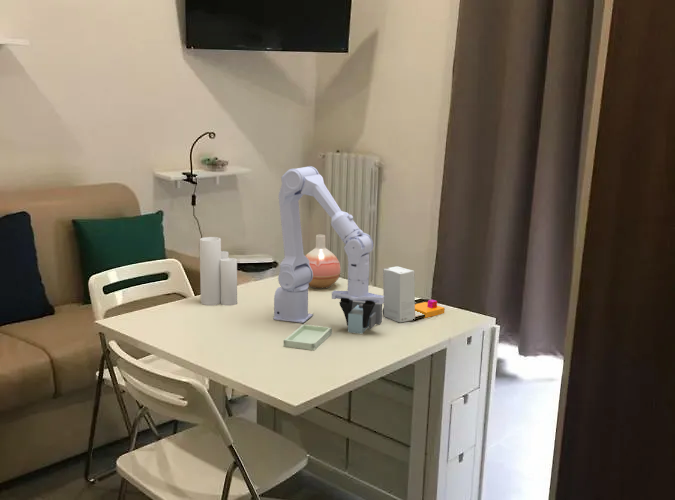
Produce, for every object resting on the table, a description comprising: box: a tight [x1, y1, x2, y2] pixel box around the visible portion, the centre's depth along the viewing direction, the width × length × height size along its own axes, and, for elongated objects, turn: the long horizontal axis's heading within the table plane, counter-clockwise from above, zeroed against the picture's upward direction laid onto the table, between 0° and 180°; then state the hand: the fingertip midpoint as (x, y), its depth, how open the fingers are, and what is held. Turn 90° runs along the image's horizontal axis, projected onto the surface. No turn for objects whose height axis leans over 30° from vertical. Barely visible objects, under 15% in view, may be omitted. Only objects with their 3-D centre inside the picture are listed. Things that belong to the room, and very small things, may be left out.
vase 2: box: [305, 234, 342, 290], centre depth 256 cm, size 14×14×18 cm
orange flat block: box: [415, 299, 446, 319], centre depth 230 cm, size 8×8×4 cm
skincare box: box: [382, 265, 416, 323], centre depth 223 cm, size 8×6×15 cm
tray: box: [283, 323, 333, 351], centre depth 204 cm, size 8×14×2 cm, turn 162°
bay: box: [352, 300, 383, 330], centre depth 217 cm, size 9×8×6 cm
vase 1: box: [199, 236, 238, 306], centre depth 235 cm, size 11×7×20 cm, turn 93°
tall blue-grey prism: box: [347, 304, 371, 335], centre depth 214 cm, size 4×9×6 cm, turn 162°
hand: (357, 325), depth 212 cm, fingers closed on tall blue-grey prism, 4 cm apart
